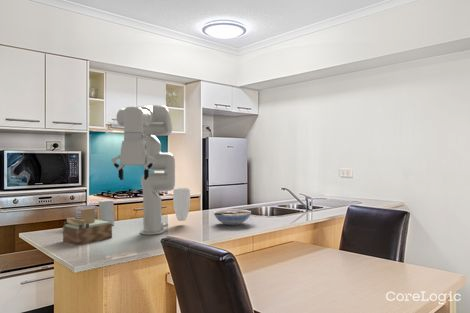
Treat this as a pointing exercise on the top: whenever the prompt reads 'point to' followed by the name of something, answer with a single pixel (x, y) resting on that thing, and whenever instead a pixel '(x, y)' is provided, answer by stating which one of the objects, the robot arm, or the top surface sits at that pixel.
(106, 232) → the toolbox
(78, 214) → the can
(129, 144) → the robot arm
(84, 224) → the wooden bar
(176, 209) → the cup
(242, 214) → the ramen bowl
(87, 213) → the lid
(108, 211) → the skincare box
